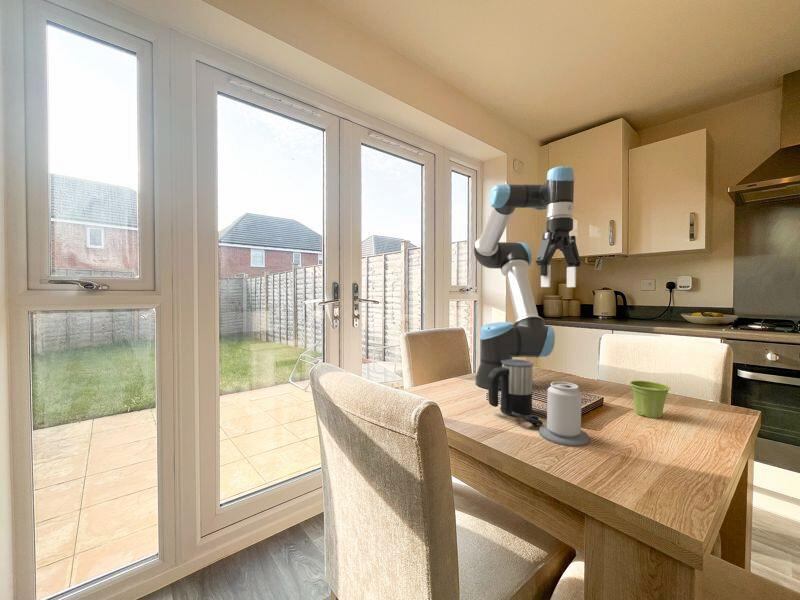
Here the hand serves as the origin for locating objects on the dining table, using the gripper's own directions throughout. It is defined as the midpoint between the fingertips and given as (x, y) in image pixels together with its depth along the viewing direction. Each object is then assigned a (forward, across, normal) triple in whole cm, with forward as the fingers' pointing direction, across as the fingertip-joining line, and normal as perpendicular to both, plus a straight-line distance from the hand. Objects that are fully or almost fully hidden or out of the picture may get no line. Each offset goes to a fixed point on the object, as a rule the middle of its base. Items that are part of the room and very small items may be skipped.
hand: (558, 287), depth 106 cm
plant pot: (+37, +13, -20) cm, 44 cm away
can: (+36, -21, -15) cm, 44 cm away
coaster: (+37, -21, -15) cm, 45 cm away
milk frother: (+37, -19, -1) cm, 42 cm away
